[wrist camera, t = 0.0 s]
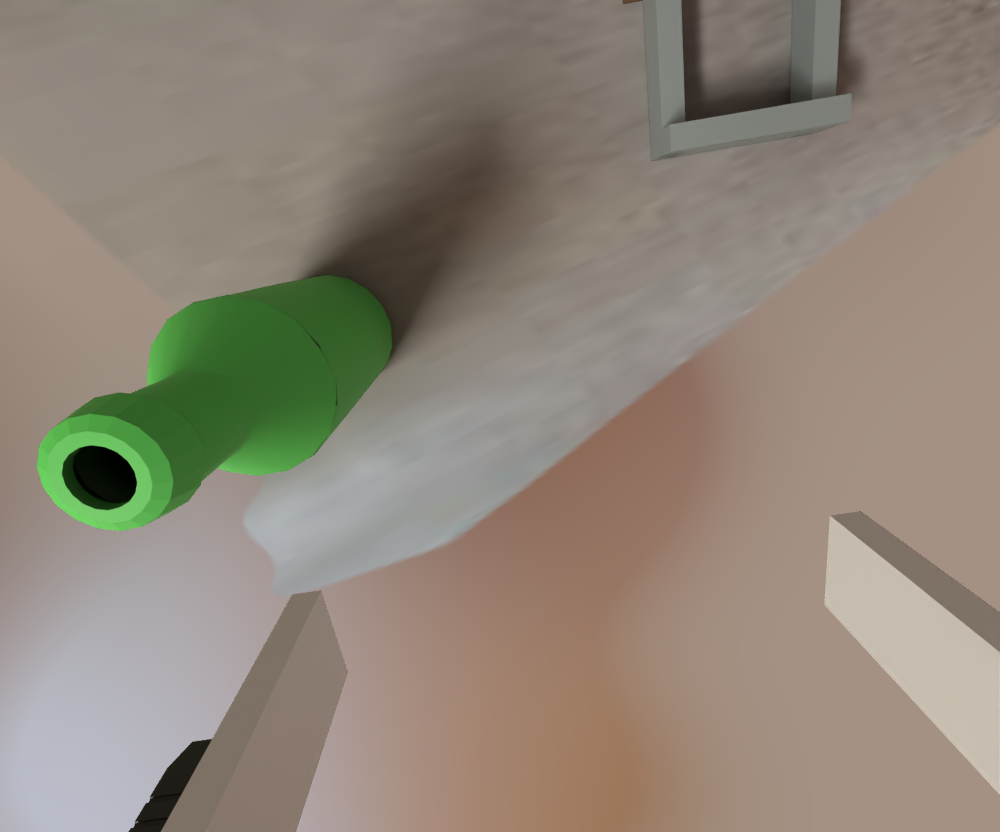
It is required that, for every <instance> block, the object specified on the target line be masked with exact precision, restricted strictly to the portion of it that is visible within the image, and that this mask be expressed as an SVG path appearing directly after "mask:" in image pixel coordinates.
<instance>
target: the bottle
mask: <svg viewBox="0 0 1000 832" xmlns="http://www.w3.org/2000/svg"><path fill="white" fill-rule="evenodd" d="M392 346H393V344H392V331H391V324H390V321H389V319H388V317H387V315H386V312H385V310H384V308H383V306H382V304H381V303H380V302H379V301H378V300H377V299H376V298H375V297H374V296H373V294H372V293H371V292H370V291H369V290H368V289H367V288H365V287H363V286H361V285H359V284H357V283H356V282H354V281H352V280H350V279H348V278H343V277H338V276H332V275H322V276H317V277H312V278H307V279H302V280H297V281H292V282H287V283H281V284H276V285H271V286H266V287H262V288H258V289H253V290H249V291H245V292H241V293H236V294H232V295H226V296H221V297H216V298H212V299H207V300H203V301H198V302H193V303H192V304H190V305H189V306H187V307H186V308H184V309H183V310H181V311H180V312H178V313H177V314H175V315H174V316H172V317H171V318H169V319H168V320H167V321H166V323H165V324H164V326H163V328H162V329H161V331H160V333H159V334H158V336H157V337H156V339H155V341H154V342H153V344H152V346H151V351H150V358H149V365H148V372H147V383H148V386H147V387H144V388H142V389H140V390H138V391H135V392H133V393H131V394H127V393H115V394H110V395H105V396H101V397H96V398H93V399H92V400H91V401H89V402H88V403H86V404H85V405H83V406H82V407H81V408H79V409H78V410H76V411H75V412H73V413H72V414H71V415H70V416H68V417H67V418H66V419H64V420H63V421H62V422H61V423H59V424H58V425H57V426H55V427H54V428H53V429H51V430H50V431H49V433H48V434H47V436H46V437H45V439H44V440H43V442H42V443H41V445H40V446H39V455H38V463H37V468H38V472H39V475H40V478H41V482H42V485H43V488H44V489H45V490H46V492H47V493H48V494H49V496H50V497H51V498H52V500H53V501H54V502H55V504H56V505H57V506H58V507H60V508H61V509H62V510H64V511H65V512H66V513H68V514H69V515H71V516H72V517H73V518H75V519H76V520H78V521H81V522H83V523H86V524H88V525H91V526H93V527H96V528H100V529H109V530H119V531H122V530H127V529H132V528H137V527H142V526H144V525H146V524H148V523H150V522H152V521H154V520H155V519H157V518H160V517H161V516H163V515H165V514H167V513H169V512H171V511H173V510H174V509H176V508H178V507H179V506H181V505H183V504H184V503H186V502H188V501H189V500H190V498H191V497H192V495H193V494H194V493H195V492H196V490H197V489H198V488H199V486H200V485H201V481H202V480H204V479H205V478H206V477H207V476H208V475H209V474H210V473H212V472H213V471H214V470H215V469H216V468H219V469H222V470H224V471H229V472H236V473H243V474H251V475H257V476H259V475H265V474H270V473H276V472H281V471H287V470H289V469H291V468H293V467H295V466H296V465H298V464H300V463H301V462H303V461H305V460H306V459H308V458H310V457H312V456H313V455H315V453H316V452H317V451H318V450H319V448H320V447H321V446H322V445H323V444H324V442H325V441H326V440H327V439H328V437H329V436H330V435H331V434H332V433H333V431H334V430H335V429H336V428H337V426H338V425H339V424H340V423H341V421H342V420H343V419H344V418H345V417H346V415H347V414H348V413H349V412H350V410H351V409H352V408H353V407H354V405H355V404H356V403H357V402H358V400H359V399H360V398H361V397H362V395H363V394H364V393H365V392H366V390H367V389H368V388H369V387H370V385H371V384H372V383H373V382H374V380H375V379H376V378H377V376H378V375H379V374H380V373H381V371H382V370H383V369H384V367H385V366H386V365H387V363H388V359H389V356H390V352H391V349H392Z"/></svg>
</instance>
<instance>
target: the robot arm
mask: <svg viewBox="0 0 1000 832" xmlns="http://www.w3.org/2000/svg"><path fill="white" fill-rule="evenodd" d="M825 606H826V607H827V608H828V609H829V610H830V611H831V612H832V613H833V614H834V615H835V617H836V618H837V619H838V620H839V621H840V622H841V623H842V624H843V625H844V626H845V627H846V628H847V630H848V631H849V632H850V633H851V634H852V635H853V636H854V637H855V638H856V639H857V640H858V642H859V643H860V644H861V645H862V646H863V647H864V648H865V649H866V650H867V651H868V652H869V653H870V655H871V656H873V658H874V659H875V660H876V661H877V662H878V663H879V664H880V665H881V666H882V667H883V669H884V670H885V671H886V672H887V673H888V674H889V675H890V676H891V677H892V678H893V679H894V681H895V682H896V683H897V684H898V685H899V686H900V687H901V688H902V689H903V690H904V691H905V692H906V694H907V695H908V696H909V697H910V698H911V699H912V700H913V701H914V702H915V703H916V704H917V705H918V706H919V708H920V709H921V710H922V711H923V712H924V713H925V714H926V715H927V716H928V717H929V718H930V719H931V721H932V722H933V723H934V724H935V725H936V726H937V727H938V728H939V729H940V730H941V731H942V733H944V735H945V736H946V737H947V738H948V739H949V740H950V741H951V742H952V743H953V744H954V745H955V747H956V748H957V749H958V750H959V751H960V752H961V753H962V754H963V755H964V756H965V757H966V759H967V760H968V761H969V762H970V763H971V764H972V765H973V766H974V767H975V768H976V769H977V770H978V772H979V773H980V774H981V775H982V776H983V777H984V778H985V779H986V780H987V781H988V782H989V783H990V784H991V786H992V787H993V788H994V789H995V790H996V791H997V792H998V793H999V794H1000V612H999V611H997V610H996V609H995V608H993V607H992V606H990V605H989V604H988V603H986V602H985V601H984V600H982V599H981V598H980V597H978V596H977V595H975V594H974V593H973V592H971V591H970V590H969V589H967V588H966V587H964V586H963V585H961V584H960V583H959V582H957V581H956V580H955V579H953V578H952V577H951V576H949V575H948V574H946V573H945V572H944V571H942V570H941V569H940V568H938V567H937V566H936V565H934V564H933V563H931V562H930V561H928V560H927V559H926V558H924V557H923V556H922V555H920V554H919V553H918V552H916V551H915V550H913V549H912V548H911V547H909V546H908V545H907V544H905V543H904V542H902V541H901V540H900V539H898V538H897V537H895V536H894V535H893V534H891V533H890V532H889V531H887V530H886V529H885V528H883V527H882V526H880V525H879V524H878V523H876V522H875V521H873V520H872V519H871V518H869V517H868V516H867V515H865V514H864V513H863V512H861V511H859V512H852V513H846V514H838V515H832V516H830V526H829V541H828V557H827V574H826V590H825ZM347 673H348V671H347V668H346V665H345V662H344V659H343V656H342V653H341V650H340V647H339V644H338V641H337V638H336V635H335V632H334V629H333V626H332V622H331V619H330V616H329V613H328V610H327V607H326V604H325V601H324V598H323V595H322V592H321V591H314V592H307V593H300V594H293V595H292V596H291V598H290V600H289V602H288V603H287V605H286V607H285V609H284V611H283V612H282V614H281V616H280V618H279V620H278V621H277V623H276V625H275V627H274V629H273V630H272V632H271V634H270V636H269V638H268V639H267V641H266V643H265V645H264V647H263V648H262V650H261V652H260V654H259V656H258V657H257V659H256V661H255V663H254V665H253V666H252V668H251V670H250V672H249V674H248V675H247V677H246V679H245V681H244V683H243V684H242V686H241V688H240V690H239V692H238V694H237V695H236V697H235V699H234V701H233V703H232V704H231V706H230V708H229V710H228V712H227V713H226V715H225V717H224V719H223V721H222V722H221V724H220V726H219V728H218V730H217V732H216V733H215V735H214V737H213V739H210V740H202V741H195V742H192V743H191V744H190V745H189V746H188V747H187V748H186V749H185V750H184V751H183V752H182V753H181V754H180V756H179V757H178V758H177V759H176V760H175V761H174V762H173V763H172V764H171V765H170V766H169V767H168V768H167V770H166V771H165V773H164V775H163V776H162V778H161V780H160V781H159V783H158V785H157V786H156V788H155V789H154V791H153V793H152V794H151V796H150V801H149V803H146V804H145V806H144V807H143V809H142V811H141V812H140V814H139V816H138V817H137V819H136V821H135V826H134V828H131V829H130V830H129V832H296V830H297V827H298V823H299V820H300V817H301V814H302V811H303V808H304V805H305V802H306V799H307V796H308V793H309V790H310V787H311V784H312V780H313V777H314V774H315V771H316V768H317V765H318V762H319V759H320V756H321V752H322V750H323V747H324V744H325V740H326V737H327V734H328V731H329V728H330V725H331V722H332V719H333V716H334V713H335V710H336V707H337V704H338V701H339V698H340V695H341V692H342V688H343V685H344V682H345V679H346V676H347Z"/></svg>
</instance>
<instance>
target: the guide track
mask: <svg viewBox="0 0 1000 832" xmlns="http://www.w3.org/2000/svg"><path fill="white" fill-rule="evenodd" d="M638 1H643V0H623V4H627V3H632V2H638Z"/></svg>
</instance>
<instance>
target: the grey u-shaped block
mask: <svg viewBox="0 0 1000 832" xmlns="http://www.w3.org/2000/svg"><path fill="white" fill-rule="evenodd" d="M840 9H841V0H793V8H792V47H791V86H790V104H786V105H781V106H775V107H769V108H763V109H757V110H751V111H746V112H740V113H734V114H728V115H722V116H716V117H711V118H705V119H699V120H693V121H687V122H685V97H684V67H683V37H682V7H681V0H643V13H644V31H645V50H646V68H647V87H648V105H649V124H650V142H651V161H655V160H661V159H667V158H673V157H679V156H685V155H690V154H696V153H702V152H708V151H714V150H720V149H726V148H732V147H738V146H743V145H749V144H755V143H761V142H767V141H773V140H779V139H785V138H791V137H797V136H802V135H808V134H813V133H816V132H819V131H822V130H825V129H828V128H831V127H834V126H837V125H840V124H843V123H846V122H849V121H850V115H851V99H852V93H850V94H845V95H839V96H836V86H837V67H838V47H839V28H840Z"/></svg>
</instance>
